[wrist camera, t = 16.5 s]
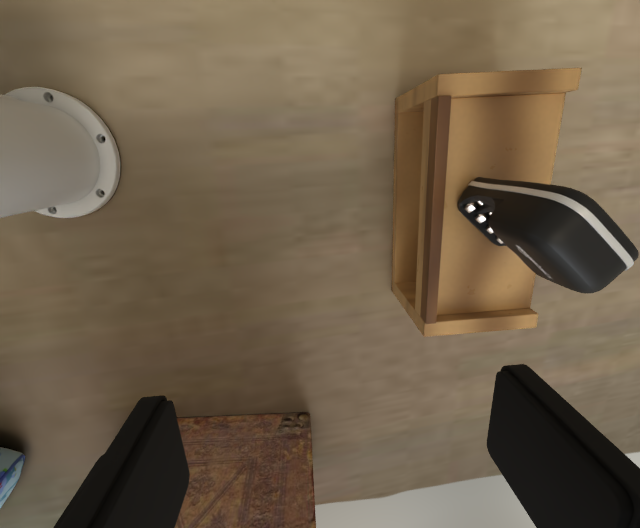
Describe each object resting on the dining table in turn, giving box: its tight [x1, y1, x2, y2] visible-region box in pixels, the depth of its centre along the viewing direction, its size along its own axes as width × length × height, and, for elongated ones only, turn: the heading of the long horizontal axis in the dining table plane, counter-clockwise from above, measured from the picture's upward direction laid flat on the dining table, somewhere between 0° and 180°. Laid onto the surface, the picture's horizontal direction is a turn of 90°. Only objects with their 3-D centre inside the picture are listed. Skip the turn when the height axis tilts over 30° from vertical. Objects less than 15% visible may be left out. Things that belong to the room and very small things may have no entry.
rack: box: [392, 68, 582, 337], centre depth 33 cm, size 11×22×12 cm, turn 3°
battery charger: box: [457, 177, 638, 293], centre depth 24 cm, size 7×4×11 cm, turn 50°
